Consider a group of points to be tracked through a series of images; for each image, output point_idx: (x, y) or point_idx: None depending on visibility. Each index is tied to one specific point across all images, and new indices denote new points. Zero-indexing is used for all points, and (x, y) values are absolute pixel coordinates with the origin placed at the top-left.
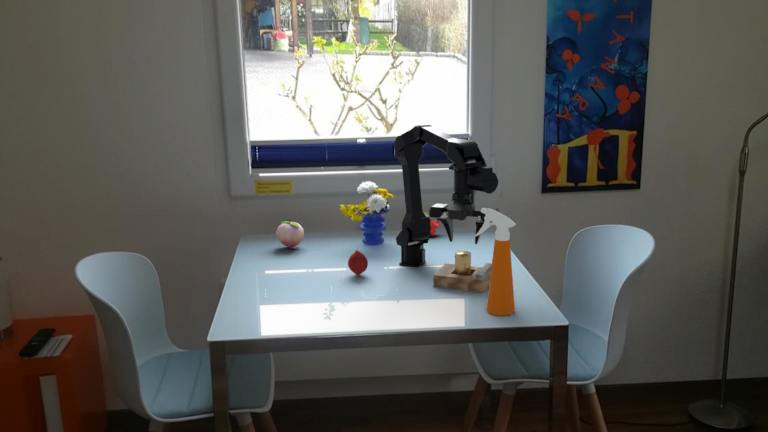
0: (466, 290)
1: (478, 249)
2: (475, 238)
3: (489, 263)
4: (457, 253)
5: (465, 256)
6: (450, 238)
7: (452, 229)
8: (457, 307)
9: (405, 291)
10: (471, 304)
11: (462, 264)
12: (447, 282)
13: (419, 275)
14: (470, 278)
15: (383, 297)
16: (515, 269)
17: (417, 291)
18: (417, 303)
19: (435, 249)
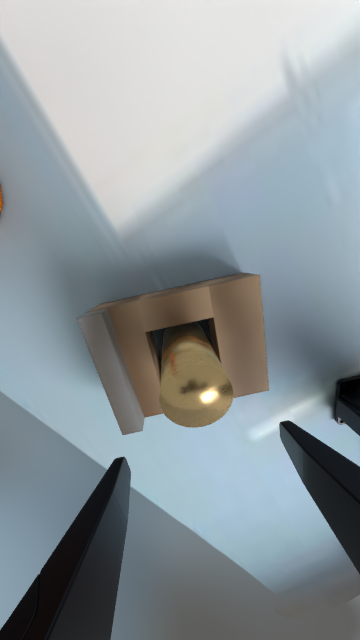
0: (145, 294)
1: (256, 525)
2: (105, 500)
3: (131, 430)
4: (216, 380)
5: (169, 373)
6: (300, 437)
7: (351, 549)
8: (86, 138)
9: (301, 187)
10: (67, 194)
11: (178, 348)
12: (204, 283)
13: (313, 332)
14: (131, 310)
15: (349, 80)
16: None
17: (268, 209)
18: (219, 92)
19: None
